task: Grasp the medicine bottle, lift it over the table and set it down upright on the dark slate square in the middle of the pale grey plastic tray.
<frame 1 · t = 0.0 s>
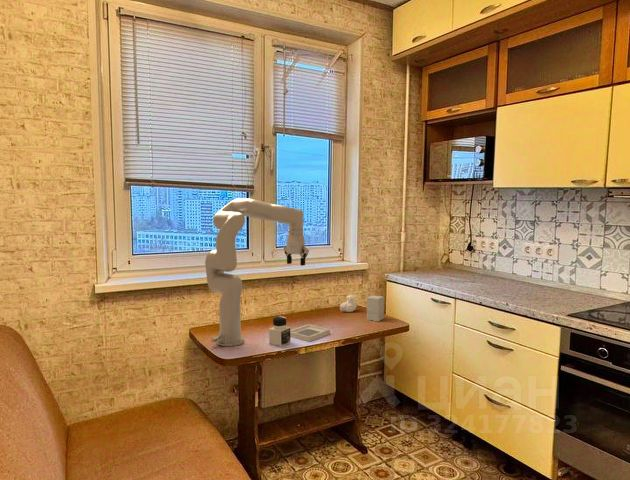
hand: (296, 264, 231), 31 cm above the table, tool pointing down, fingers open, 9 cm apart
medicine bottle: (279, 343, 199), on the table
supplement box: (375, 319, 240), on the table
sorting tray: (308, 334, 211), on the table
bust: (349, 311, 257), on the table
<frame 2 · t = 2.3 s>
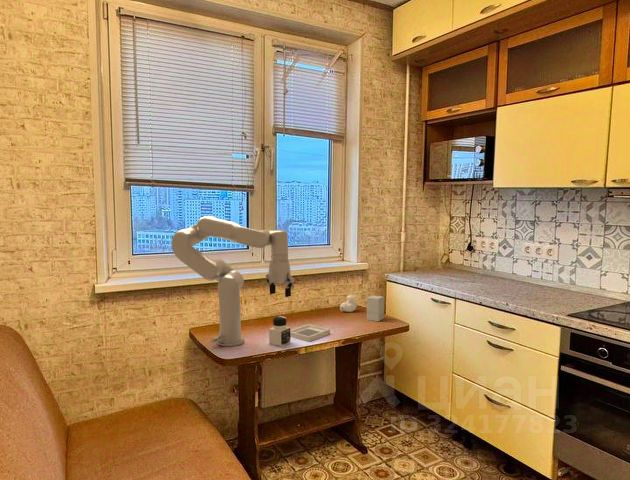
hand: (280, 295, 197), 22 cm above the table, tool pointing down, fingers open, 9 cm apart
nothing on the table moved.
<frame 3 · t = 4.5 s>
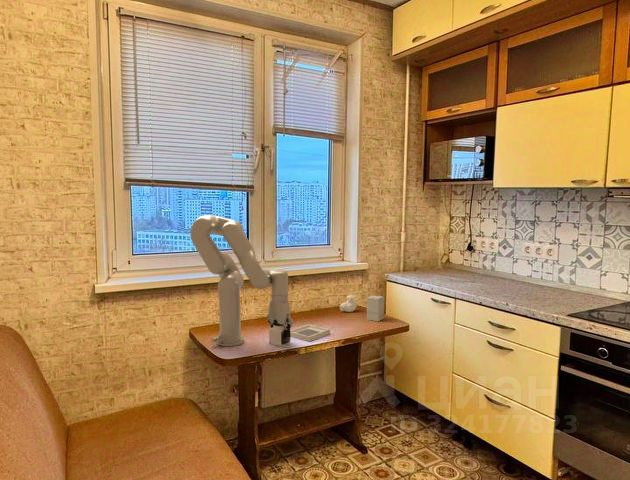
hand: (279, 335, 199), 3 cm above the table, tool pointing down, fingers closed on medicine bottle, 7 cm apart
medicine bottle: (279, 343, 199), on the table, touching gripper
everything else where it was.
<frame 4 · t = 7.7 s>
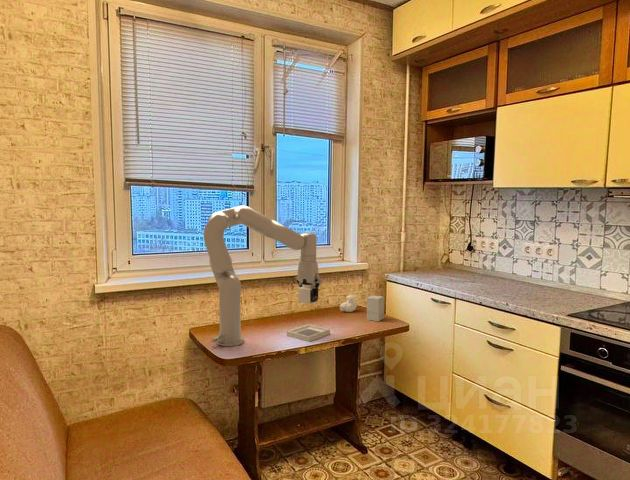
hand: (308, 294, 210), 20 cm above the table, tool pointing down, fingers closed on medicine bottle, 7 cm apart
medicine bottle: (308, 302, 210), point 16 cm above the table, touching gripper
everything else where it was.
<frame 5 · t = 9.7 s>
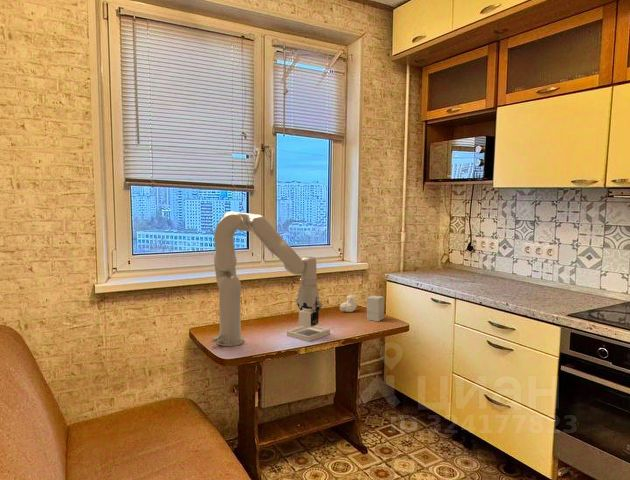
hand: (308, 318, 211), 8 cm above the table, tool pointing down, fingers closed on medicine bottle, 7 cm apart
medicine bottle: (308, 325, 211), point 5 cm above the table, touching gripper
everything else where it was.
when the fingers open (6 cm above the table, at t = 11.3 s): medicine bottle drops 1 cm, resting on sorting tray.
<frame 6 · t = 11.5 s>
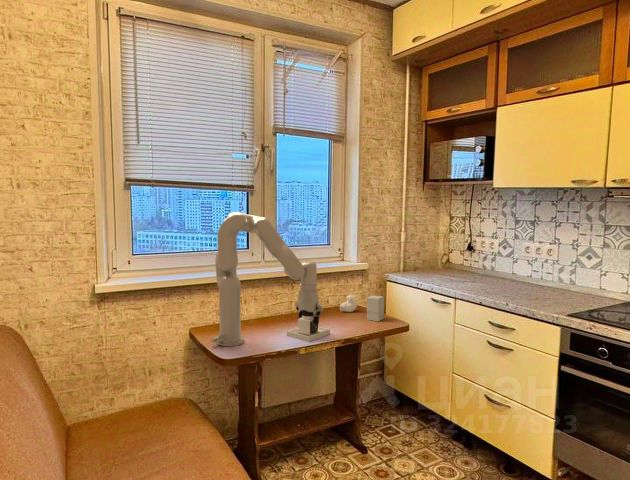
hand: (308, 322, 211), 6 cm above the table, tool pointing down, fingers open, 9 cm apart
medicine bottle: (308, 332, 211), point 1 cm above the table, touching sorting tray
everything else where it was.
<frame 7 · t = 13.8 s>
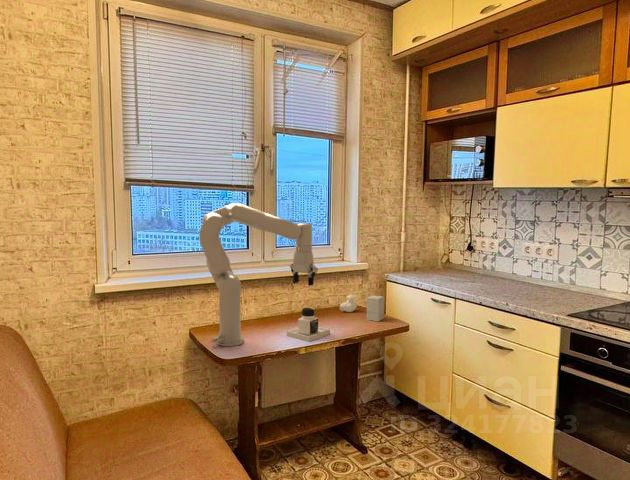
hand: (303, 283, 210), 25 cm above the table, tool pointing down, fingers open, 9 cm apart
nothing on the table moved.
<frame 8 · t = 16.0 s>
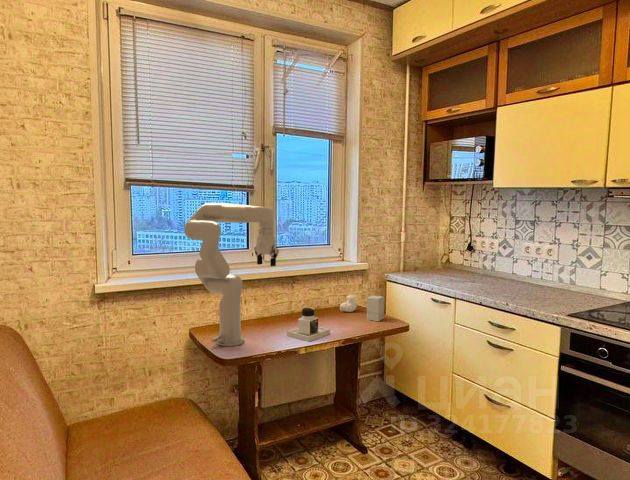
hand: (266, 265, 221), 32 cm above the table, tool pointing down, fingers open, 9 cm apart
nothing on the table moved.
at the end: medicine bottle inside the target area on the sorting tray (0.3 cm from its centre), point 0.9 cm above the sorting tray's base; medicine bottle tilted 0°; the gripper is holding nothing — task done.
